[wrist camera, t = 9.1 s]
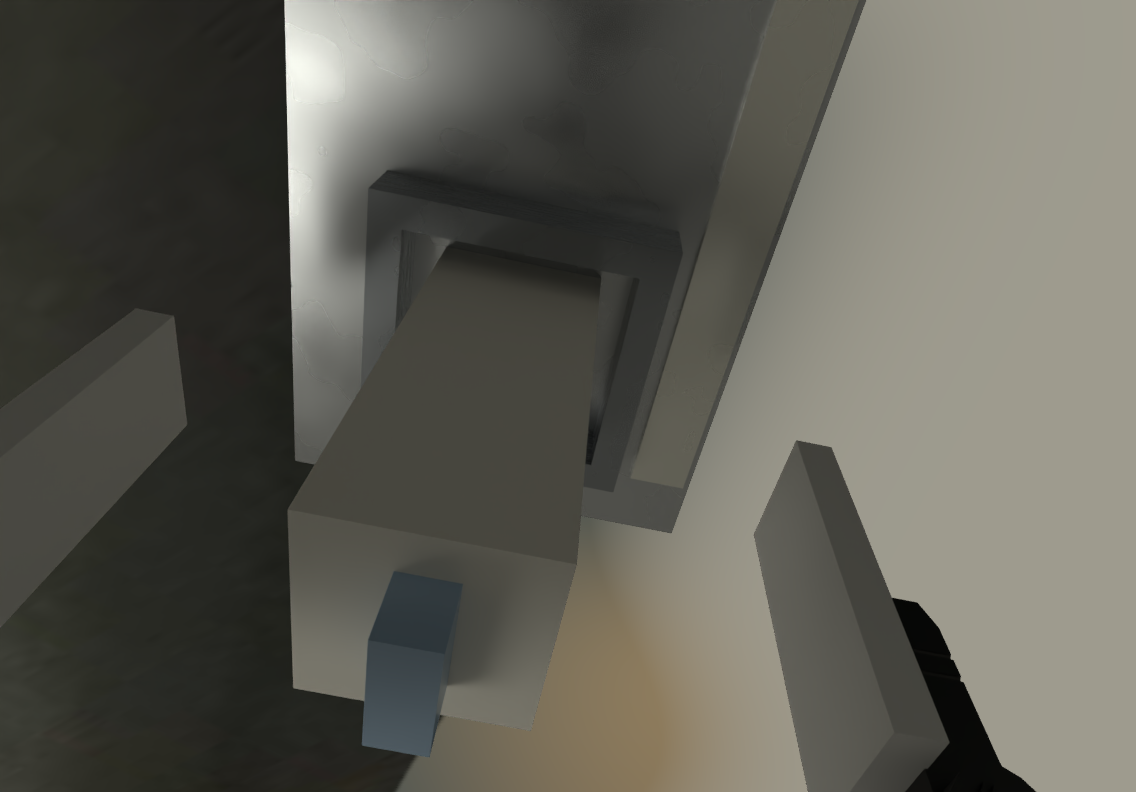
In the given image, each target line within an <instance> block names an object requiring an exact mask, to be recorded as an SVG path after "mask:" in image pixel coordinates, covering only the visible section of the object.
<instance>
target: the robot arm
mask: <svg viewBox="0 0 1136 792" xmlns="http://www.w3.org/2000/svg"><path fill="white" fill-rule="evenodd" d="M186 425H187V419H186V411H185V403H184V395H183V387H182V379H181V371H180V362H179V354H178V346H177V338H176V330H175V322H174V316H171V315H166V314H161V313H156V312H151V311H146V310H141V309H135V310H133V311H132V312H131V313H129V314H128V315H127V316H125V317H124V318H123V319H121V320H120V321H118V322H117V323H116V324H114V325H113V326H112V327H110V328H109V329H108V330H106V331H105V332H104V333H102V334H101V335H100V336H98V337H97V338H95V339H94V340H93V341H91V342H90V343H89V344H87V345H86V346H85V347H83V348H82V349H81V350H79V351H78V352H77V353H75V354H74V355H72V356H71V357H70V358H68V359H67V360H66V361H64V362H63V363H62V364H60V365H59V366H58V367H56V368H55V369H54V370H52V371H51V372H49V373H48V374H47V375H45V376H44V377H43V378H41V379H40V380H39V381H37V382H36V383H35V384H33V385H32V386H31V387H29V388H28V389H26V390H25V391H24V392H22V393H21V394H20V395H18V396H17V397H16V398H14V399H13V400H12V401H10V402H9V403H7V404H6V405H5V406H3V407H2V408H1V409H0V627H1V626H2V625H3V624H4V623H5V622H6V621H7V620H8V619H9V618H10V616H11V615H12V614H13V613H14V612H15V611H16V610H17V609H18V608H19V607H20V606H21V605H22V603H23V602H24V601H25V600H26V599H27V598H28V597H29V596H30V595H31V594H32V593H33V591H34V590H35V589H36V588H37V587H38V586H39V585H40V584H41V583H42V582H43V581H44V580H45V578H46V577H47V576H48V575H49V574H50V573H51V572H52V571H53V570H54V569H55V568H56V566H57V565H58V564H59V563H60V562H61V561H62V560H63V559H64V558H65V557H66V556H67V555H68V553H69V552H70V551H71V550H72V549H73V548H74V547H75V546H76V545H77V544H78V543H79V542H80V540H81V539H82V538H83V537H84V536H85V535H86V534H87V533H88V532H89V531H90V530H91V528H92V527H93V526H94V525H95V524H96V523H97V522H98V521H99V520H100V519H101V518H102V517H103V515H104V514H105V513H106V512H107V511H108V510H109V509H110V508H111V507H112V506H113V505H114V503H115V502H116V501H117V500H118V499H119V498H120V497H121V496H122V495H123V494H124V493H125V492H126V490H127V489H128V488H129V487H130V486H131V485H132V484H133V483H134V482H135V481H136V480H137V479H138V477H139V476H140V475H141V474H142V473H143V472H144V471H145V470H146V469H147V468H148V467H149V465H150V464H151V463H152V462H153V461H154V460H155V459H156V458H157V457H158V456H159V455H160V454H161V452H162V451H163V450H164V449H165V448H166V447H167V446H168V445H169V444H170V443H171V442H172V440H173V439H174V438H175V437H176V436H177V435H178V434H179V433H180V432H181V431H182V430H183V429H184V427H185V426H186ZM754 538H755V542H756V547H757V552H758V557H759V561H760V566H761V571H762V576H763V580H764V585H765V589H766V595H767V599H768V604H769V608H770V613H771V618H772V623H773V627H774V633H775V637H776V642H777V647H778V651H779V656H780V661H781V666H782V671H783V675H784V680H785V685H786V690H787V694H788V699H789V704H790V708H791V713H792V718H793V723H794V727H795V732H796V737H797V742H798V747H799V751H800V756H801V761H802V766H803V770H804V775H805V780H806V785H807V790H808V792H1036V791H1034V789H1033V788H1031V787H1030V786H1029V785H1028V784H1027V783H1026V782H1025V781H1024V780H1022V778H1020V777H1019V776H1017V775H1015V774H1013V773H1012V772H1010V771H1009V770H1007V769H1005V768H1004V767H1002V766H1001V764H1000V762H999V760H998V757H997V755H996V753H995V751H994V749H993V747H992V744H991V742H990V740H989V738H988V735H987V733H986V731H985V729H984V726H983V724H982V722H981V720H980V718H979V715H978V713H977V711H976V709H975V707H974V704H973V702H972V700H971V698H970V696H969V694H968V691H967V689H966V687H965V684H964V683H963V682H961V681H960V677H961V676H960V674H959V671H958V669H957V667H956V665H955V663H954V660H951V659H950V657H951V654H950V651H949V649H948V647H947V645H946V643H945V640H944V638H943V636H942V634H941V631H940V629H939V628H938V626H937V625H936V624H935V623H934V622H933V620H932V619H931V618H930V617H929V616H928V615H927V613H926V612H925V611H924V610H923V609H922V608H921V606H920V605H919V604H918V603H916V602H911V601H906V600H901V599H896V598H891V595H890V593H889V590H888V588H887V585H886V583H885V580H884V578H883V575H882V573H881V570H880V568H879V565H878V563H877V560H876V558H875V555H874V553H873V550H872V548H871V545H870V543H869V540H868V538H867V535H866V533H865V530H864V528H863V525H862V523H861V520H860V518H859V515H858V513H857V510H856V508H855V505H854V503H853V500H852V498H851V495H850V493H849V491H848V488H847V485H846V483H845V480H844V478H843V475H842V473H841V470H840V468H839V465H838V463H837V460H836V458H835V455H834V453H833V450H832V448H831V447H827V446H822V445H817V444H811V443H806V442H801V441H796V442H795V444H794V447H793V449H792V451H791V453H790V456H789V458H788V460H787V462H786V464H785V467H784V469H783V471H782V473H781V475H780V478H779V480H778V482H777V484H776V487H775V489H774V491H773V493H772V495H771V498H770V500H769V502H768V504H767V506H766V509H765V511H764V513H763V515H762V518H761V520H760V522H759V524H758V527H757V529H756V531H755V533H754Z"/></svg>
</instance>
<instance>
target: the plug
mask: <svg viewBox="0 0 1136 792" xmlns="http://www.w3.org/2000/svg"><path fill="white" fill-rule="evenodd" d="M600 285H601V278H596V277H591V276H586V275H582V274H577V273H572V272H567V271H562V270H557V269H553V268H548V267H543V266H538V265H533V264H528V263H523V262H519V261H514V260H509V259H504V258H499V257H494V256H490V255H485V254H480V253H475V252H470V251H465V250H461V249H456V248H451V247H446V248H445V250H444V252H443V253H442V255H441V257H440V258H439V260H438V262H437V263H436V265H435V267H434V268H433V270H432V272H431V273H430V275H429V277H428V278H427V280H426V282H425V283H424V285H423V287H422V288H421V290H420V291H419V293H418V295H417V296H416V298H415V300H414V301H413V303H412V305H411V306H410V308H409V310H408V311H407V313H406V315H405V316H404V318H403V320H402V321H401V323H400V325H399V326H398V328H397V330H396V331H395V333H394V334H393V336H392V338H391V339H390V341H389V343H388V344H387V346H386V348H385V349H384V351H383V353H382V354H381V356H380V358H379V359H378V361H377V363H376V364H375V366H374V368H373V369H372V371H371V373H370V374H369V376H368V377H367V379H366V381H365V382H364V384H363V386H362V387H361V389H360V391H359V392H358V394H357V396H356V397H355V399H354V401H353V402H352V404H351V406H350V407H349V409H348V411H347V412H346V414H345V416H344V417H343V419H342V420H341V422H340V424H339V425H338V427H337V429H336V430H335V432H334V434H333V435H332V437H331V439H330V440H329V442H328V444H327V445H326V447H325V449H324V450H323V452H322V454H321V455H320V457H319V459H318V460H317V462H316V463H315V465H314V467H313V468H312V470H311V472H310V473H309V475H308V477H307V478H306V480H305V482H304V483H303V485H302V487H301V488H300V490H299V492H298V493H297V495H296V497H295V498H294V500H293V502H292V503H291V505H290V506H289V508H288V536H289V567H290V598H291V629H292V660H293V688H296V689H301V690H307V691H312V692H318V693H323V694H329V695H334V696H340V697H345V698H351V699H357V700H362V701H364V717H363V735H362V745H363V746H368V747H374V748H380V749H385V750H391V751H396V752H402V753H408V754H413V755H419V756H425V757H430V753H431V749H432V745H433V741H434V737H435V733H436V729H437V725H438V721H439V717H440V715H445V716H451V717H457V718H462V719H468V720H474V721H479V722H484V723H489V724H495V725H501V726H507V727H512V728H517V729H523V730H528V731H531V728H532V725H533V721H534V717H535V713H536V710H537V706H538V703H539V699H540V696H541V692H542V688H543V684H544V681H545V677H546V674H547V670H548V667H549V663H550V659H551V656H552V652H553V649H554V645H555V641H556V638H557V634H558V630H559V627H560V623H561V619H562V616H563V612H564V609H565V605H566V601H567V598H568V594H569V590H570V587H571V583H572V580H573V576H574V572H575V569H576V565H577V555H578V543H579V531H580V519H581V508H582V496H583V484H584V473H585V461H586V449H587V437H588V426H589V414H590V402H591V391H592V379H593V367H594V355H595V344H596V332H597V320H598V309H599V297H600Z"/></svg>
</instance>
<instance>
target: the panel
mask: <svg viewBox="0 0 1136 792" xmlns="http://www.w3.org/2000/svg"><path fill="white" fill-rule="evenodd" d="M865 2H866V0H285V40H286V83H287V126H288V169H289V212H290V255H291V298H292V341H293V384H294V427H295V461H300V462H305V463H310V464H315V463H316V462H317V460H318V459H319V457H320V455H321V454H322V452H323V450H324V449H325V447H326V445H327V444H328V442H329V440H330V439H331V437H332V435H333V434H334V432H335V430H336V429H337V427H338V425H339V424H340V422H341V420H342V419H343V417H344V416H345V414H346V412H347V411H348V409H349V407H350V406H351V404H352V402H353V401H354V399H355V397H356V396H357V394H358V392H359V391H360V389H361V387H362V386H363V384H364V382H365V381H366V379H367V377H368V376H369V374H370V373H371V371H372V369H373V368H374V366H375V364H376V363H377V361H378V359H379V358H380V356H381V354H382V353H383V351H384V349H385V348H386V346H387V344H388V343H389V341H390V339H391V338H392V336H393V334H394V333H395V331H396V330H397V328H398V326H399V325H400V323H401V321H402V320H403V318H404V316H405V315H406V313H407V311H408V310H409V308H410V306H411V305H412V303H413V301H414V300H415V298H416V296H417V295H418V293H419V291H420V290H421V288H422V287H423V285H424V283H425V282H426V280H427V278H428V277H429V275H430V273H431V272H432V270H433V268H434V267H435V265H436V263H437V262H438V260H439V258H440V257H441V255H442V253H443V252H444V250H445V248H446V247H451V248H456V249H461V250H465V251H470V252H475V253H480V254H485V255H490V256H494V257H499V258H504V259H509V260H514V261H519V262H523V263H528V264H533V265H538V266H543V267H548V268H553V269H557V270H562V271H567V272H572V273H577V274H582V275H586V276H591V277H596V278H601V285H600V297H599V309H598V320H597V332H596V344H595V355H594V367H593V379H592V391H591V402H590V414H589V426H588V437H587V449H586V461H585V473H584V484H583V496H582V508H581V516H585V517H590V518H595V519H600V520H605V521H610V522H616V523H621V524H626V525H632V526H636V527H642V528H647V529H652V530H657V531H662V532H667V533H672V530H673V528H674V525H675V522H676V519H677V517H678V514H679V511H680V508H681V506H682V503H683V500H684V497H685V495H686V492H687V489H688V487H689V484H690V481H691V478H692V476H693V473H694V470H695V467H696V465H697V462H698V459H699V456H700V453H701V451H702V448H703V445H704V443H705V440H706V437H707V434H708V432H709V429H710V426H711V424H712V421H713V418H714V415H715V413H716V410H717V407H718V404H719V401H720V399H721V396H722V393H723V391H724V388H725V385H726V382H727V380H728V377H729V374H730V371H731V369H732V366H733V363H734V360H735V358H736V355H737V352H738V350H739V347H740V344H741V341H742V338H743V336H744V333H745V330H746V328H747V325H748V322H749V319H750V316H751V314H752V311H753V309H754V306H755V303H756V300H757V297H758V295H759V292H760V289H761V287H762V284H763V281H764V278H765V276H766V273H767V270H768V267H769V265H770V262H771V259H772V256H773V254H774V251H775V248H776V245H777V243H778V240H779V237H780V235H781V232H782V229H783V226H784V223H785V221H786V218H787V215H788V213H789V210H790V207H791V204H792V202H793V199H794V196H795V194H796V191H797V188H798V185H799V182H800V180H801V177H802V174H803V171H804V169H805V166H806V163H807V161H808V158H809V155H810V152H811V150H812V147H813V144H814V141H815V139H816V136H817V133H818V131H819V128H820V125H821V122H822V119H823V117H824V114H825V111H826V108H827V106H828V103H829V100H830V98H831V95H832V92H833V89H834V86H835V84H836V81H837V78H838V76H839V73H840V70H841V68H842V65H843V62H844V59H845V57H846V53H847V51H848V48H849V46H850V43H851V40H852V37H853V35H854V32H855V29H856V26H857V23H858V21H859V18H860V15H861V13H862V10H863V7H864V5H865Z"/></svg>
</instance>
